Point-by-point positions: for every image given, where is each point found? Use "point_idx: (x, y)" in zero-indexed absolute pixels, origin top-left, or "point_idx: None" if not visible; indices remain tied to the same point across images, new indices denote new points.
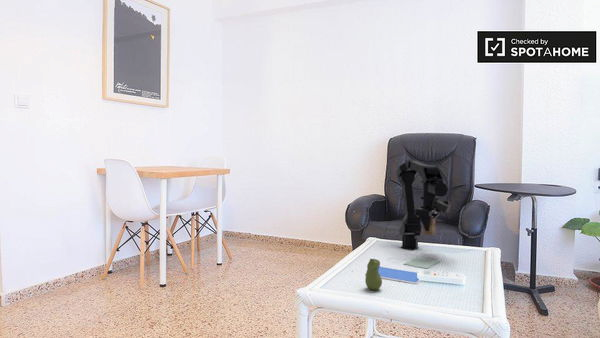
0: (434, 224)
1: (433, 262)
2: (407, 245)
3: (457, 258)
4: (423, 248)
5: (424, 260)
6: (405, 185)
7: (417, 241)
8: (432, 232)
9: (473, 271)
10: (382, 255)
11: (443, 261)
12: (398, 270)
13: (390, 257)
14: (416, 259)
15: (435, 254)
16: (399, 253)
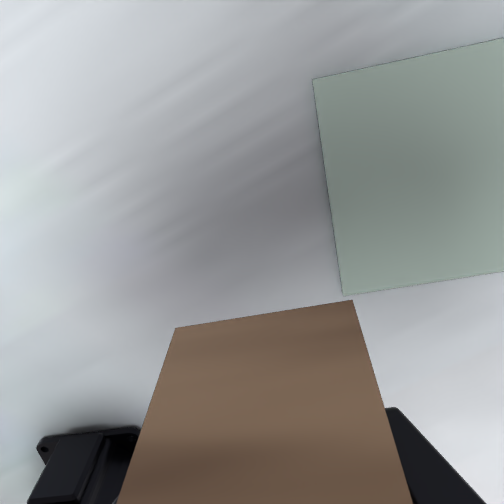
0: (190, 496)
1: (421, 88)
2: None
3: (27, 25)
4: (20, 407)
5: (408, 190)
6: None
7: (49, 478)
8: (334, 334)
9: None
10: (464, 466)
11: (269, 58)
12: None
13: (482, 412)
14: (427, 254)
15: (96, 254)
16: None
